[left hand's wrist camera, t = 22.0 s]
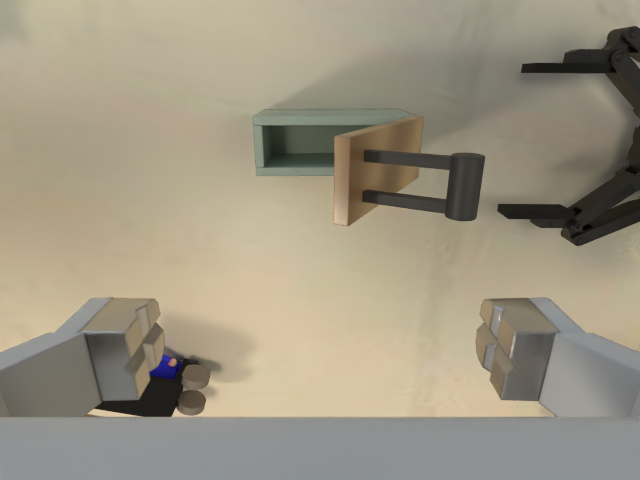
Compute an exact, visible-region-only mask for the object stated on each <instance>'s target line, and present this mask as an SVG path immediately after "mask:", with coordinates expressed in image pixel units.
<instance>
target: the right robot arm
mask: <svg viewBox="0 0 640 480" xmlns="http://www.w3.org/2000/svg"><path fill="white" fill-rule="evenodd" d="M607 40H608V42H607V43H606V45H605V46H604V47H603V48H602V49H601V50H599V49H579V50H571V51H568V52H566V53H565V55H564V60H563V63H531V64H523V65H522V71H521V73H605V74H606V76H607V77H608V78H609V79H610V80H611V82H612V83H613V84H614V85H615V86H616V87H617V89H618V90H619V91H620V92H621V93H622V95H623V96H624V97H625V98H626V99H627V101H628V102H629V103H630V104H631V105H632V106H633V108H634V109H633V111H634V113H635V114H636V115H637V116H638V118H639V119H640V69H639V68H638V66H637V65H636V64H635V63H634V61H633V60H632V59H631V58H630V57H632V58H633V59H635V60H636V61H638V62H639V63H640V28H638V27H636V26H633V27H627V28H621V29H615V30H612V31H611V32H610V33H609V34H608V37H607ZM627 159H628V160H629V164H628V165H626V166H625V167H623V168H622V169H620V170H619V171H618V172H616V176H615V177H613V178H612V179H610V180H609V181H607V182H606V183H605V184H603V185H602V186H600V187H599V188H597V189H596V190H594V191H593V192H591V193H590V194H588V195H587V196H585V197H584V198H582V199H581V200H579V201H578V202H576V203H575V204H573V205H572V206H571V207H569V208H566V207H564V206H562V205H560V204H498V210H497V211H498V212H500V213H501V214H502V215H504V216H505V217H506V218H508V219H530V222H532V223H533V224H534V225H536V226H538V227H540V228H562V231H561V236H562V237H564V238H565V239H567V240H568V241H570V242H571V243H573V244H574V245H576V246H581V245H583V244H586V243H588V242H590V241H593V240H595V239H598V238H600V237H603V236H605V235H608V234H610V233H613V232H615V231H617V230H620V229H622V228H625V227H627V226H630V225H632V224H635V223H637V222H640V196H639V197H638V199H637V200H632V201H628V202H626V203H623V204H621V205H618V206H616V207H614V208H612V207H613V206H615V205H616V204H618V203H619V202H621V201H622V200H624V199H626V198H627V197H629V196H630V195H632V194H633V193H635V192H636V191H639V190H640V125H639V127H638V128H635V130H634V134H633V144H632V146H631V148H630V150H629V152H628V155H627ZM636 174H639V175H636ZM610 208H611V209H610Z"/></svg>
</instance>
